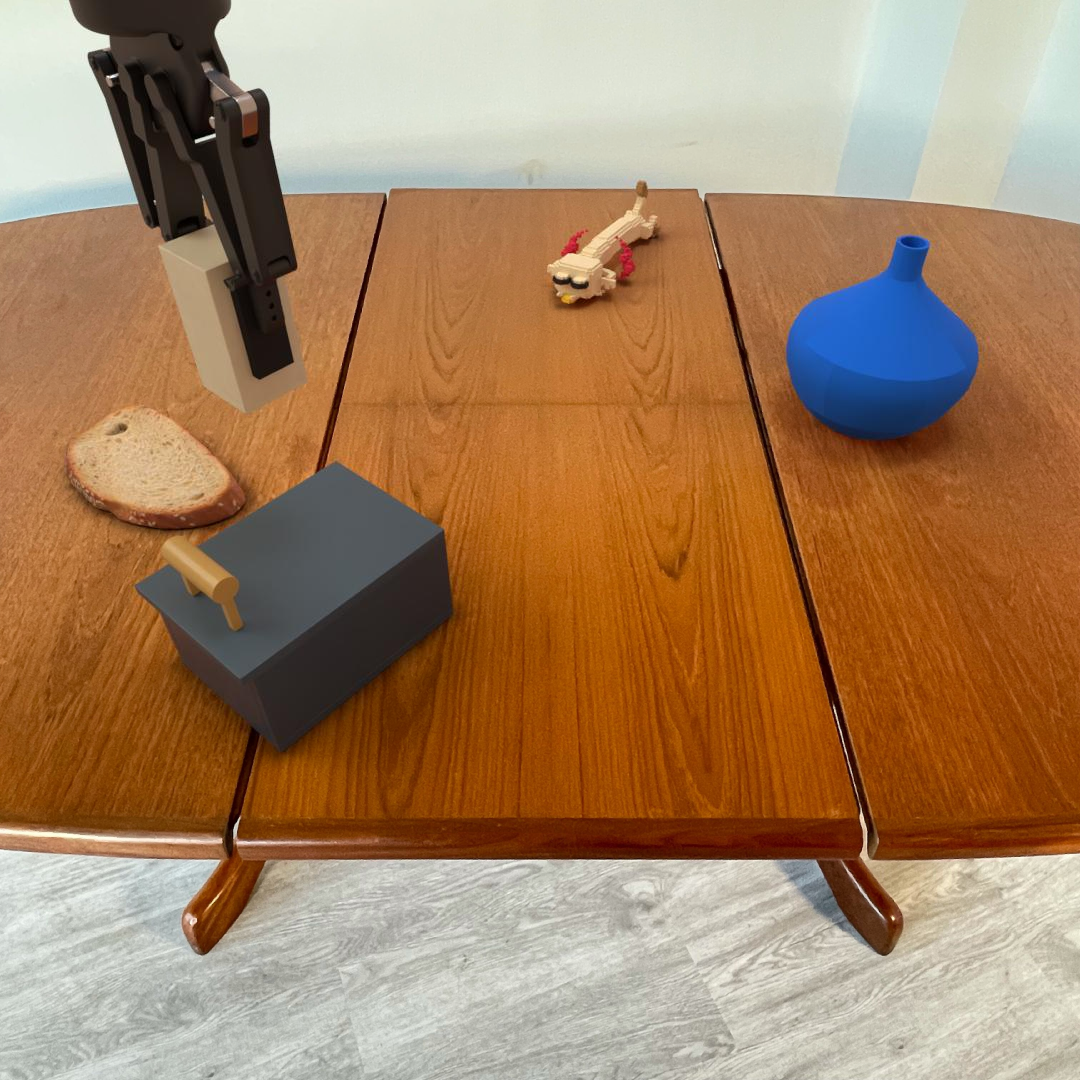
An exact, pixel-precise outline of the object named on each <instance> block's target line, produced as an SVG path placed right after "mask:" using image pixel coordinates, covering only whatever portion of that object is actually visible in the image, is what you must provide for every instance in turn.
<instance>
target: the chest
mask: <svg viewBox="0 0 1080 1080" xmlns="http://www.w3.org/2000/svg"><path fill="white" fill-rule="evenodd" d="M453 607H454V606H453V597H452V587H451V579H450V571H449V559H448V551H447V542H446V536H445V537H444V538H443V539H442V540H440V541H439V542H438V543H436V544H435V545H434V546H432V547H431V548H430V549H428V550H427V551H425V552H424V553H423V554H421V555H420V556H419V557H417V558H416V559H415V560H413V561H412V562H411V563H409V564H408V565H407V566H405V567H404V568H403V569H401V570H400V571H398V572H397V573H396V574H394V575H393V576H392V577H390V578H389V579H388V580H386V581H385V582H384V583H382V584H381V585H380V586H378V587H377V588H376V589H374V590H373V591H371V592H370V593H369V594H367V595H366V596H365V597H363V598H362V599H361V600H359V601H358V602H357V603H355V604H354V605H353V606H351V607H350V608H349V609H347V610H346V611H344V612H343V613H342V614H340V615H339V616H338V617H336V618H335V619H334V620H332V621H331V622H330V623H328V624H327V625H326V626H324V627H323V628H322V629H320V630H319V631H317V632H316V633H315V634H313V635H312V636H311V637H309V638H308V639H307V640H305V641H304V642H303V643H301V644H300V645H299V646H297V647H296V648H295V649H293V650H292V651H290V652H289V653H288V654H286V655H285V656H284V657H282V658H281V659H280V660H278V661H277V662H276V663H274V664H273V665H272V666H270V667H269V668H268V669H266V670H265V671H263V672H262V673H261V674H259V675H258V676H257V677H255V678H254V679H253V680H251V681H250V682H249V683H247V684H246V685H245V686H242V685H241V684H240V683H238V682H237V681H236V680H235V679H234V678H233V677H232V676H231V675H229V674H228V673H227V672H226V671H225V670H224V669H223V668H222V667H220V666H219V665H218V664H217V663H216V662H215V661H214V660H213V659H211V658H210V657H209V656H208V655H207V654H206V653H205V652H204V651H202V650H201V649H200V648H199V647H198V646H197V645H196V644H195V643H193V642H192V641H191V640H190V639H189V638H188V637H187V636H186V635H184V634H183V633H182V632H181V631H180V630H179V629H178V628H177V627H175V626H174V625H173V624H172V623H171V622H170V621H169V620H168V619H166V618H165V617H164V616H163V615H162V614H161V613H160V612H159V615H160V617H161V619H162V621H163V623H164V625H165V627H166V630H167V632H168V634H169V636H170V639H171V641H172V643H173V645H174V647H175V650H176V651H177V654H178V656H179V658H180V660H181V662H182V664H183V665H184V666H185V667H187V669H189V671H191V672H192V673H193V674H194V675H195V676H196V677H197V678H198V679H199V680H201V681H202V682H203V683H204V684H205V685H206V686H207V687H208V688H209V689H210V690H211V691H212V692H213V693H215V694H216V696H218V697H219V698H220V699H221V700H222V701H224V702H225V704H227V705H228V706H229V707H230V708H231V710H234V712H235V713H237V714H238V715H239V716H240V717H241V718H242V719H243V720H244V721H245V723H246V722H247V724H248V725H250V726H251V727H252V728H253V729H254V730H255V731H256V732H257V733H259V735H260V736H262V737H263V739H265V740H266V741H267V742H268V743H269V744H271V746H272V747H274V748H275V749H276V751H278V752H279V753H280V754H283V753H284V752H286V751H287V749H289V748H290V747H291V746H293V744H295V743H296V742H297V741H299V740H300V739H301V738H302V737H303V736H305V735H306V734H307V733H309V732H310V731H311V730H312V729H313V728H315V727H316V726H317V725H318V724H319V723H320V722H322V721H323V720H325V719H326V718H327V717H328V716H329V715H331V714H333V712H335V711H336V710H337V709H339V708H340V707H341V705H343V704H345V702H347V701H348V700H349V699H350V698H352V697H353V696H354V695H355V694H357V693H358V692H359V691H361V689H363V688H364V687H365V686H367V685H368V684H369V683H370V682H372V680H374V679H375V678H377V677H378V676H379V675H380V674H381V673H382V672H384V671H385V670H386V669H387V668H389V667H390V666H391V665H393V664H394V663H395V662H396V661H398V659H400V658H401V657H402V656H403V655H405V654H406V653H407V652H409V650H411V649H412V648H413V647H415V646H416V645H417V644H418V643H419V642H421V641H422V640H423V639H425V638H426V637H427V636H428V635H430V634H431V633H432V632H433V631H434V630H436V629H437V628H438V627H439V626H441V625H442V624H443V623H444V622H446V621H447V620H448V619H449V618H451V617H452V616H453V615H454V608H453Z"/></svg>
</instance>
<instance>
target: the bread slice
mask: <svg viewBox="0 0 1080 1080" xmlns="http://www.w3.org/2000/svg"><path fill="white" fill-rule="evenodd" d="M64 468H65V471H66V474H67V476H68V478H69V480H70V483H71V484H72V485H73V486H74V487H75V489H76V490H77V491H78V492H79V494H80V495H82V496H83V497H84V498H85V499H86V500H87V501H89V502H90V503H91V504H92V505H93V507H95V508H96V509H98V510H102V511H107V512H110V513H112V514H114V516H115V517H116V518H117V519H119V520H121V521H123V522H126V523H127V522H128V523H130V524H133V525H139V526H146V527H150V528H157V529H161V530H165V529H166V530H167V529H174V530H180V529H192V528H196V527H202V526H207V525H210V524H214V523H218V522H220V521H223V520H226V519H227V518H229V517H233V516H234V515H235V514H236V513H238V512H239V511H241V509H242V507H243V506H244V505H245V503H246V496H245V493H244V490H243V489H242V487H241V486H240V485H239V484H238V482H237V481H236V479H235V477H234V475H233V474H232V473H231V472H230V470H229V469H228V468H227V467H226V465H225V464H224V462H223V461H222V460H220V459H219V458H218V457H217V456H216V455H215V454H214V453H213V452H212V451H211V450H210V449H209V448H207V447H206V446H205V445H204V443H202V442H201V441H200V440H199V439H198V438H197V437H196V436H194V435H193V433H191V431H188V430H187V429H186V428H184V427H183V425H181V424H179V423H178V422H177V421H175V420H174V419H173V418H171V417H169V416H167V415H164V414H163V413H161V412H160V411H159V410H157V409H154V408H151V407H149V406H147V405H144V404H135V403H134V404H131V405H128V406H124V407H121V408H119V409H118V410H116V411H113V412H111V413H108V414H107V415H105V416H104V417H102V418H101V419H100V420H98V421H97V422H96V423H94V424H93V425H92V426H90V427H88V428H87V429H85V430H83V431H82V432H80V433H78V434H76V435H74V436H72V437H71V438H70V439H69V441H68V442H67V445H66V449H65V456H64Z"/></svg>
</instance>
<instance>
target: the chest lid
mask: <svg viewBox="0 0 1080 1080" xmlns="http://www.w3.org/2000/svg"><path fill="white" fill-rule="evenodd" d="M444 537H445V538H446V533H445V528H443V527H442V526H440V525H439V524H436V523H435V522H434V521H432V520H431V519H429V518H427V517H425V516H424V515H422V513H419V512H418V511H416V510H415V509H413V508H412V507H410V506H408V505H407V504H405V503H403V502H402V501H400V500H399V499H397V498H396V497H394V496H392V495H391V494H390V493H388V492H386V491H384V490H383V489H382V488H381V487H378V486H376V485H375V484H373V483H372V482H370V481H368V479H366V478H364V477H362V476H361V475H359V474H358V473H356V472H354V471H353V470H352V469H349V468H348V467H346V466H345V465H344V464H342V463H340V462H339V461H337V460H334V461H333V462H331V463H329V464H328V465H327V466H325V467H324V468H322V469H319V471H317V472H315V473H314V474H312V475H311V476H309V477H307V478H305V479H304V480H302V481H301V482H299V483H298V484H296V485H294V486H293V487H290V489H288V490H286V491H284V492H283V493H281V494H280V495H278V496H276V497H275V498H273V499H271V500H270V501H268V502H266V503H265V504H264V505H261V506H260V507H258V508H257V509H255V510H254V511H251V513H248V514H247V515H246V516H244V517H243V518H240V519H239V520H238V521H236V522H234V523H233V524H230V525H229V526H227V527H226V528H224V529H223V530H221V531H219V532H218V533H216V534H214V535H213V536H211V537H210V538H208V539H207V540H205V541H203V542H201V543H199V544H198V545H197V546H196V544H194V543H192V542H191V541H190V540H189V539H188V538H186V537H185V536H184V535H174V536H171V537H170V538H168V539H167V540H166V541H165V542H164V543H163V545H161V546H162V547H161V549H160V556H161V558H162V559H163V560H164V561H165V562H167V564H166V565H165V566H164V565H163V567H161V568H159V569H158V570H156V571H154V572H153V573H152V574H150V575H148V576H147V577H145V578H143V579H141V580H140V581H139V582H137V583H136V584H134V585H133V586H134V588H135V590H136V592H137V594H138V595H139V596H141V598H143V599H144V600H145V601H146V602H147V603H148V604H149V605H151V607H153V608H154V609H155V610H156V611H157V612H159V614H160V613H161V614H162V615H163V616H164V617H165V618H166V619H168V620H169V621H170V622H171V623H172V624H173V625H174V626H175V627H177V628H178V629H179V630H180V631H181V632H182V633H183V634H184V635H186V636H187V637H188V638H189V639H190V640H191V641H192V642H193V643H195V644H196V645H197V646H198V647H199V648H200V649H201V650H202V651H204V652H205V653H206V654H207V655H208V656H209V657H210V658H211V659H213V660H214V661H215V662H216V663H217V664H218V665H219V666H220V667H222V668H223V669H224V670H225V671H226V672H227V673H228V674H229V675H231V676H232V677H233V678H234V679H235V680H236V681H237V682H238V683H240V684H241V685H242V686H245V685H246V684H247V683H249V682H250V681H251V680H253V679H254V678H255V677H257V676H258V675H259V674H261V673H262V672H263V671H265V670H266V669H268V668H269V667H270V666H272V665H273V664H274V663H276V662H277V661H278V660H280V659H281V658H282V657H284V656H285V655H286V654H288V653H289V652H290V651H292V650H293V649H295V648H296V647H297V646H299V645H300V644H301V643H303V642H304V641H305V640H307V639H308V638H309V637H311V636H312V635H313V634H315V633H316V632H317V631H319V630H320V629H322V628H323V627H324V626H326V625H327V624H328V623H330V622H331V621H332V620H334V619H335V618H336V617H338V616H339V615H340V614H342V613H343V612H344V611H346V610H347V609H349V608H350V607H351V606H353V605H354V604H355V603H357V602H358V601H359V600H361V599H362V598H363V597H365V596H366V595H367V594H369V593H370V592H371V591H373V590H374V589H376V588H377V587H378V586H380V585H381V584H382V583H384V582H385V581H386V580H388V579H389V578H390V577H392V576H393V575H394V574H396V573H397V572H398V571H400V570H401V569H403V568H404V567H405V566H407V565H408V564H409V563H411V562H412V561H413V560H415V559H416V558H417V557H419V556H420V555H421V554H423V553H424V552H425V551H427V550H428V549H430V548H431V547H432V546H434V545H435V544H436V543H438V542H439V541H440V540H442V539H443V538H444Z"/></svg>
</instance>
